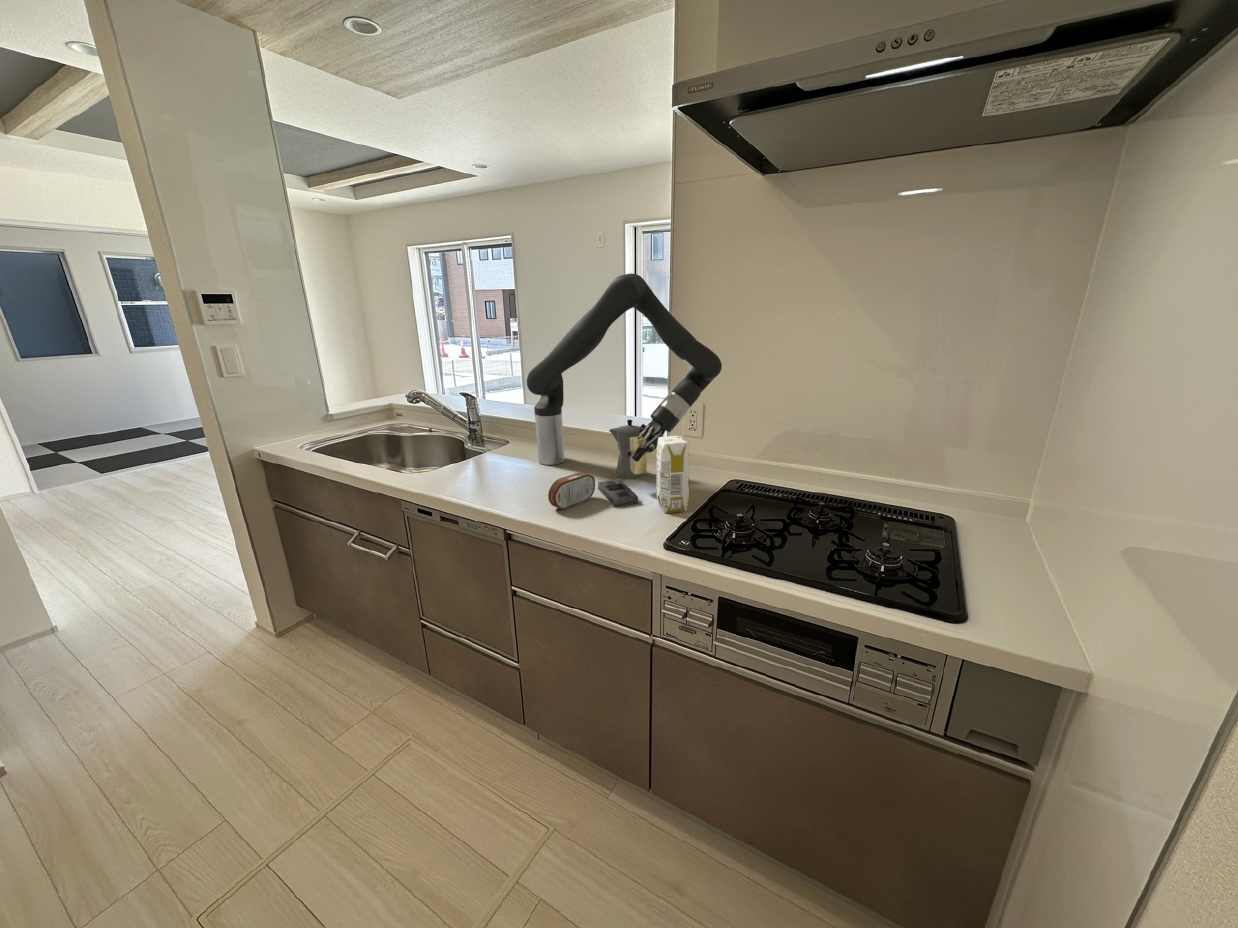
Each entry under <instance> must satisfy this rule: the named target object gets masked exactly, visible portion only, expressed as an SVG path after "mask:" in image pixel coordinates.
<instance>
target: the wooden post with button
mask: <svg viewBox="0 0 1238 928" xmlns="http://www.w3.org/2000/svg"><path fill="white" fill-rule="evenodd" d="M643 442H644V438H643V437H640V436H638V437H630V471H632V472H633V473H634V474H640V473H645V474H646V473H647V467H648V466H647V463H648V462H647V461H648V460H647V453H645V454H644V455H643V456H642V457H641V458H640V460H639V461H638V462H636V461H635V460H634V459H632V455H633V454H634V453H635V452H636V451H637V450H638V449H639V447H640V446H641V445H642V443H643ZM640 448H641V447H640Z"/></svg>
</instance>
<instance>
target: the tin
mask: <svg viewBox="0 0 1238 928" xmlns="http://www.w3.org/2000/svg"><path fill="white" fill-rule="evenodd" d="M595 489H596V480H595V477H594V476H593V475H591V474H590V473H588V472H586V471H578V472H577V473H573V474H570V475H566V476H564V477H560V478H557V479H556V480H555V481H554V482H552V484H551V486H550V488H549V490H548V495H547V500H548V501H549V503H550V505H551V506H553V507H555V508H557V509H560V510H566V509H569V508H571V507H573V506H576V505H579V504H582V503H585V502H587V501H589V500H590V499H591V498H592V496H593V495H594V493H595Z"/></svg>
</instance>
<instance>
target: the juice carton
mask: <svg viewBox="0 0 1238 928" xmlns="http://www.w3.org/2000/svg"><path fill="white" fill-rule="evenodd" d="M689 445H690V444H689V442H688V441H686V440H684V438H683V436H682V435H669V436H664V437H658V443H657V448H656V499H657V503H658V505H659V506H660V507H661V509H662V512H663V513H664V514H671V513H682V512H687V511H688V505H689V499H690V498H689V496H690V494H689V493H690V463H691V462H690V460H691V459H690V458H691V457H690V454H691V453H690V446H689Z"/></svg>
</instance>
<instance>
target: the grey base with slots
mask: <svg viewBox="0 0 1238 928" xmlns="http://www.w3.org/2000/svg"><path fill="white" fill-rule="evenodd" d="M597 489H598V490H599V491H600V492H601V494H602V496H604V497H605V498H606V500H607V501H608V502H609V503H610V504H611V506H613V508H617V507H626V506H631V505H636V504H639V496H638V494H636V493H635V491H633V490H632V489H631V488H630V487H629V486H628V485H627V484H626V483H625V482H624V481H622V479H613V480H605V481H598V482H597Z"/></svg>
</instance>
